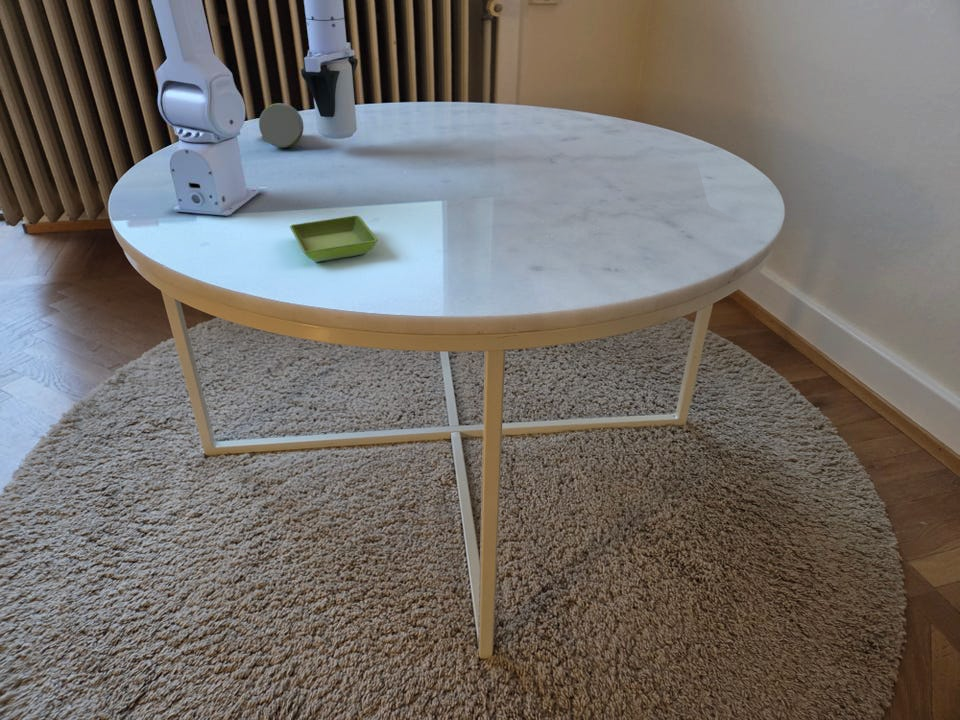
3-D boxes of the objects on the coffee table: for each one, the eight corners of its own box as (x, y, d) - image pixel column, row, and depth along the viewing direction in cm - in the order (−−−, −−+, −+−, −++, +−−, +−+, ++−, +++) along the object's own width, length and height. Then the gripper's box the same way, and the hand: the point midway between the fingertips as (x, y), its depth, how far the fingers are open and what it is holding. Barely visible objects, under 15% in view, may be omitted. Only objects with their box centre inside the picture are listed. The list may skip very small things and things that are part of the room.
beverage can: (339, 127, 116) (332, 51, 109) (365, 134, 112) (359, 56, 106) (310, 135, 111) (300, 56, 105) (335, 142, 108) (327, 62, 101)
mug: (310, 134, 123) (311, 89, 114) (297, 172, 118) (298, 129, 109) (268, 123, 121) (266, 77, 113) (254, 162, 117) (251, 117, 108)
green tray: (291, 240, 83) (288, 224, 82) (360, 229, 86) (358, 214, 85) (305, 269, 76) (303, 252, 75) (380, 256, 79) (378, 240, 78)
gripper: (333, 25, 96) (343, 124, 103) (365, 13, 108) (372, 102, 115) (286, 23, 97) (299, 121, 104) (323, 11, 109) (332, 99, 116)
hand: (334, 111), depth 110 cm, fingers closed on beverage can, 6 cm apart
